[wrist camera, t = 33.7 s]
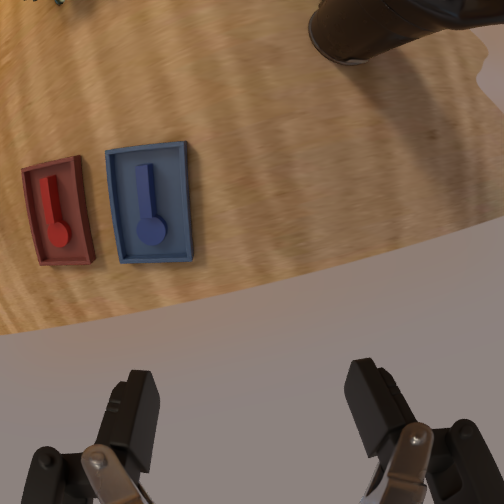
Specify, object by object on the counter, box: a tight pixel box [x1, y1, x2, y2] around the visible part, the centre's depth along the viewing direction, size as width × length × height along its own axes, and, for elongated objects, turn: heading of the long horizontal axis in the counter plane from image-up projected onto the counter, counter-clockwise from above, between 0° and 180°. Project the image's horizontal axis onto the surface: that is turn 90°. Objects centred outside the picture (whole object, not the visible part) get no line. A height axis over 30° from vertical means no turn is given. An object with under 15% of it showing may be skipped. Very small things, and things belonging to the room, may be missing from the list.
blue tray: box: [105, 141, 194, 264], centre depth 34 cm, size 15×10×2 cm
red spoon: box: [39, 175, 72, 248], centre depth 32 cm, size 10×4×2 cm, turn 1°
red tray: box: [21, 155, 96, 266], centre depth 33 cm, size 15×10×2 cm
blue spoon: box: [135, 163, 168, 246], centre depth 34 cm, size 10×4×2 cm, turn 1°
